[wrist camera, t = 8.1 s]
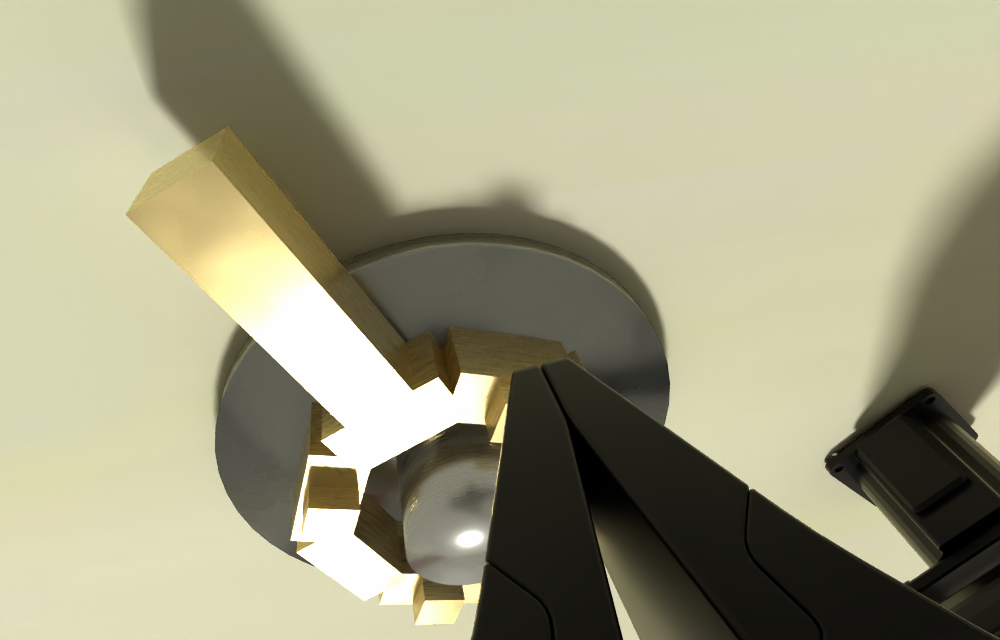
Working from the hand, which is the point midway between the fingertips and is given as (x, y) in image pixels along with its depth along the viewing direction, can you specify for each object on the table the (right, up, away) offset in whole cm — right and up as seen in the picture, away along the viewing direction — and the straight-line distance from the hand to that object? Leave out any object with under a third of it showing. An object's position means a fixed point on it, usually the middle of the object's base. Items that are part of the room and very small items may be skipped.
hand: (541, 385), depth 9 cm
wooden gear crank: (-4, -2, +13) cm, 14 cm away
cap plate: (-2, -4, +17) cm, 17 cm away
